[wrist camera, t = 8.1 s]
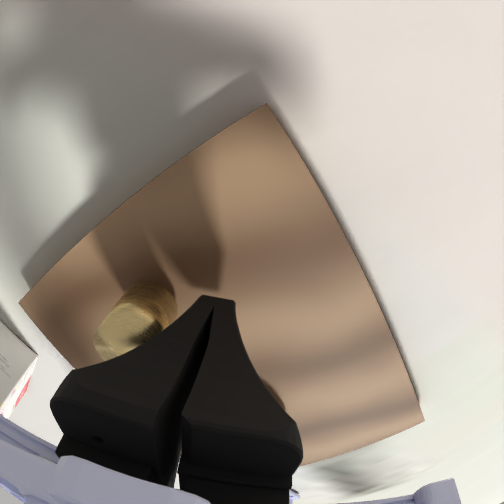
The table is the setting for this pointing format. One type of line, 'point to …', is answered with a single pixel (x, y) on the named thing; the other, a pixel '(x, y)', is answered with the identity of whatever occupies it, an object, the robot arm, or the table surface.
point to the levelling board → (247, 283)
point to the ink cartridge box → (13, 369)
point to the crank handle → (135, 319)
